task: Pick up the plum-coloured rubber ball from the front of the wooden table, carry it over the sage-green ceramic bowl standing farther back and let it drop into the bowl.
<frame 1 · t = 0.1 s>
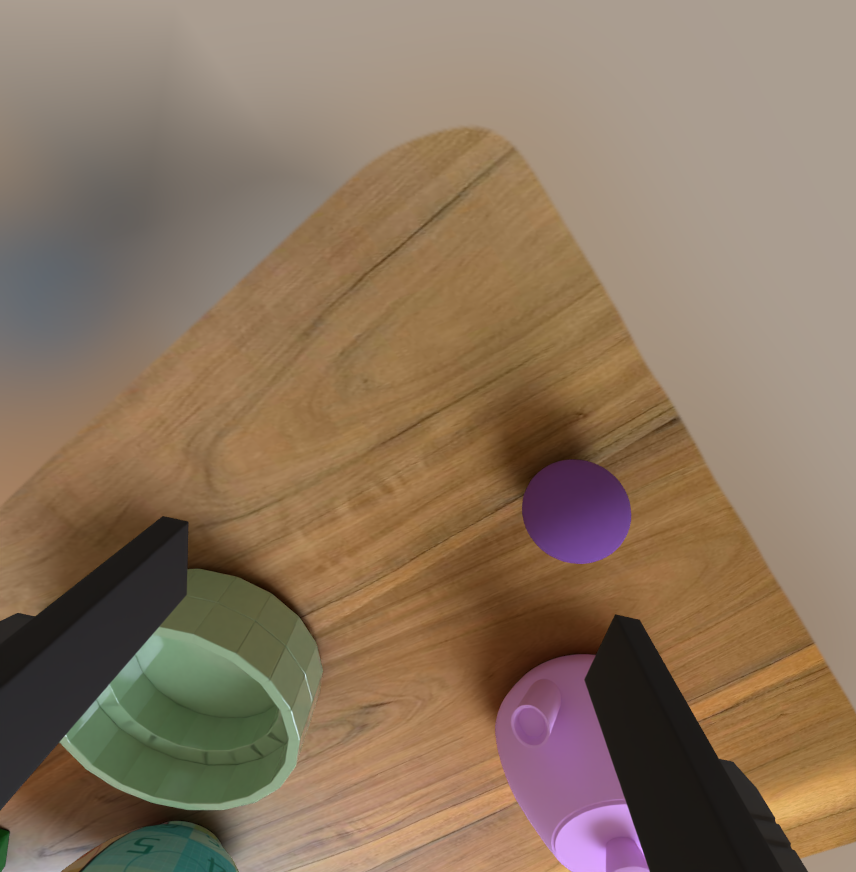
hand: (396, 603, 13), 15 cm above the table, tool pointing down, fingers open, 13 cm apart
ball: (561, 487, 27), on the table
teapot: (572, 698, 34), on the table
bowl: (188, 840, 43), on the table
green bowl: (217, 654, 34), on the table
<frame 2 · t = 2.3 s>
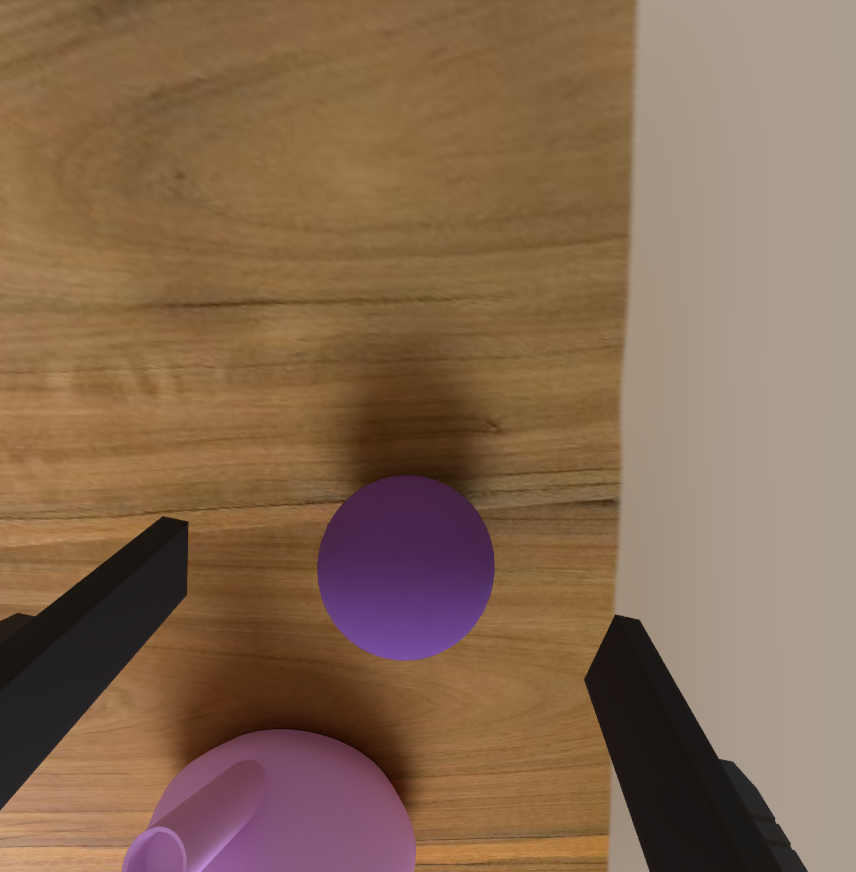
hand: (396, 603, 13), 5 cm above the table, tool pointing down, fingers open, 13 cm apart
ball: (414, 516, 17), on the table
teapot: (298, 783, 24), on the table
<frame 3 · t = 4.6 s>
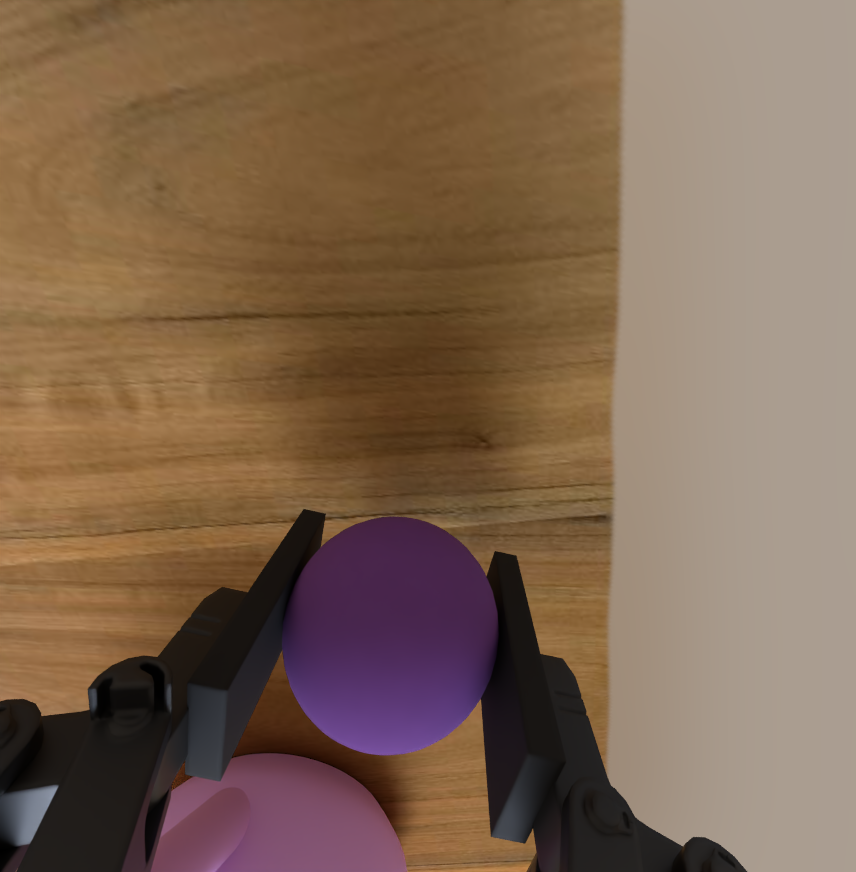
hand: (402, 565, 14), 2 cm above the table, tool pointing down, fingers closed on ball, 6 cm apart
ball: (403, 558, 15), point 2 cm above the table, touching gripper
teapot: (285, 809, 23), on the table
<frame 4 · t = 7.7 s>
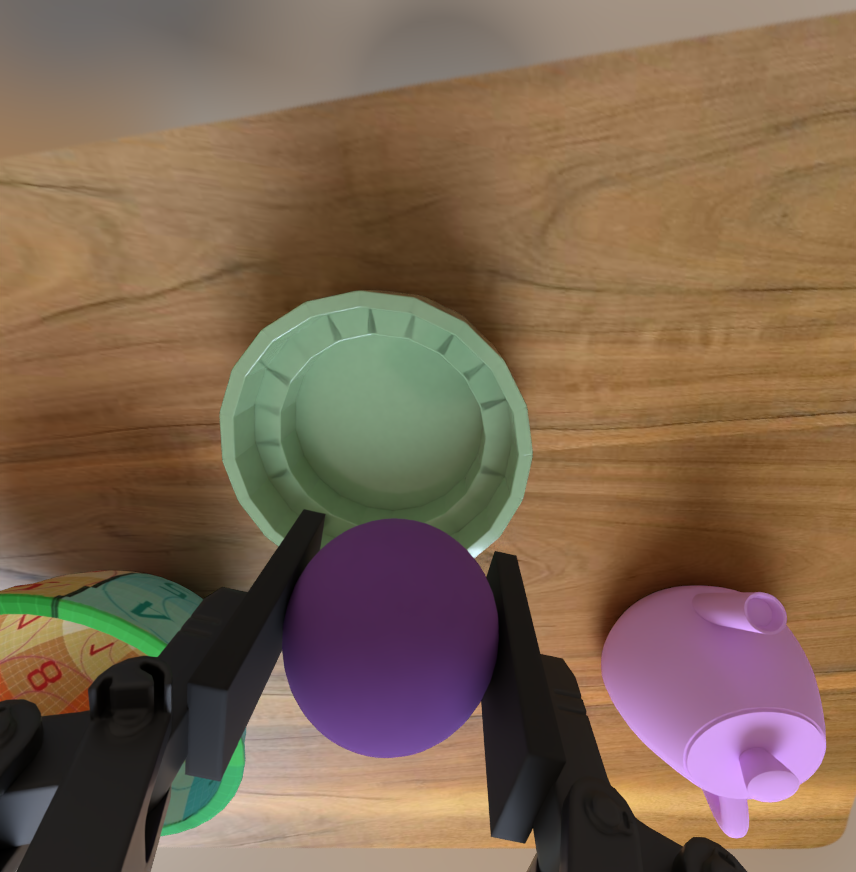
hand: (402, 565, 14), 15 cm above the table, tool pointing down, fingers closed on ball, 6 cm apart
ball: (403, 560, 15), point 15 cm above the table, touching gripper
teapot: (679, 631, 34), on the table
bowl: (173, 618, 36), on the table
green bowl: (389, 424, 29), on the table
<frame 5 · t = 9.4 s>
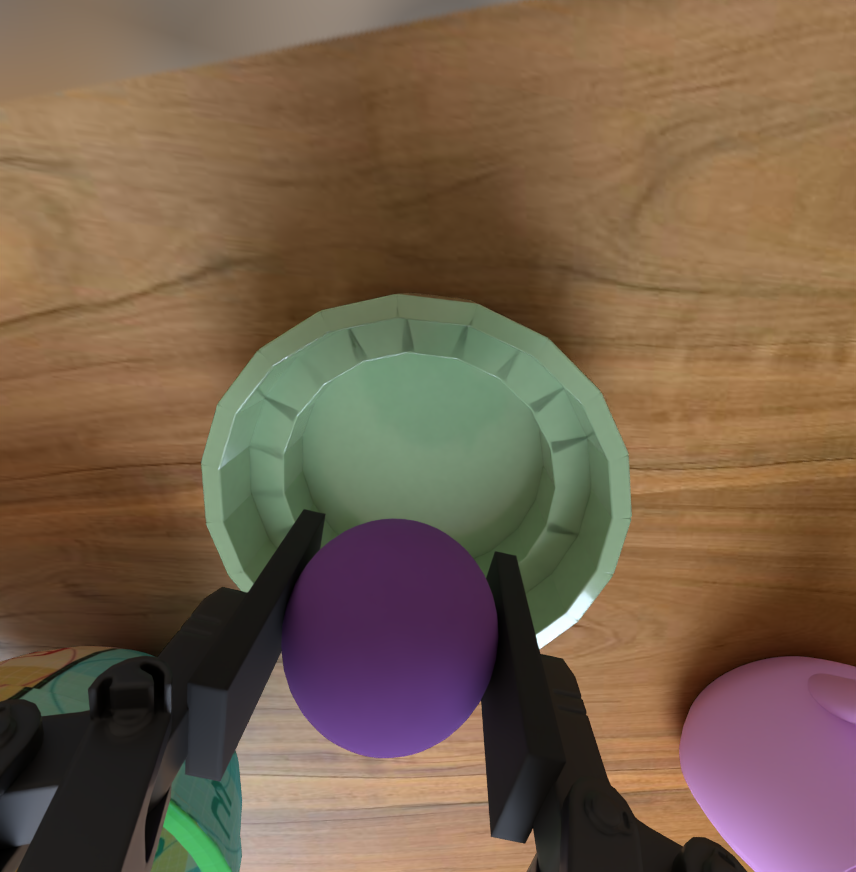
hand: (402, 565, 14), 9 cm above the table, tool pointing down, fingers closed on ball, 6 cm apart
ball: (403, 560, 15), point 9 cm above the table, touching gripper
teapot: (773, 708, 28), on the table
bowl: (154, 690, 30), on the table
green bowl: (421, 463, 23), on the table
when the fingers open (6 cm above the table, at t = 10.6 s): ball drops 5 cm, resting on green bowl.
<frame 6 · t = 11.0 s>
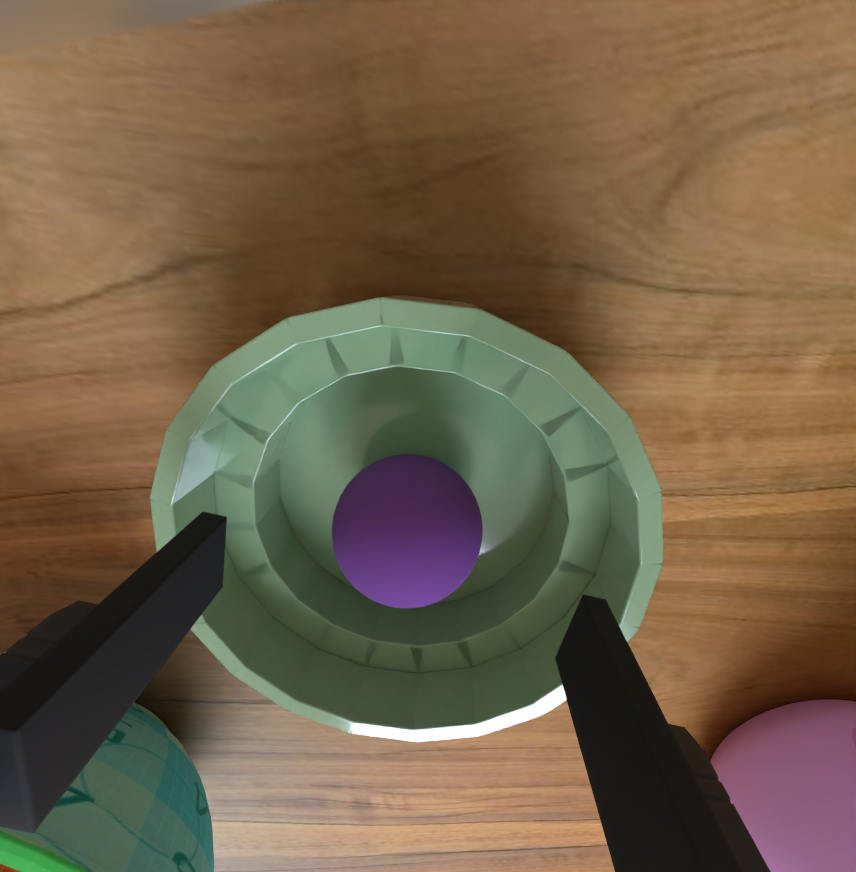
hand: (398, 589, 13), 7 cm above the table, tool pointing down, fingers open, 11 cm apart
ball: (413, 493, 19), point 1 cm above the table, touching green bowl
teapot: (805, 754, 25), on the table
bowl: (122, 732, 27), on the table
green bowl: (414, 488, 20), on the table
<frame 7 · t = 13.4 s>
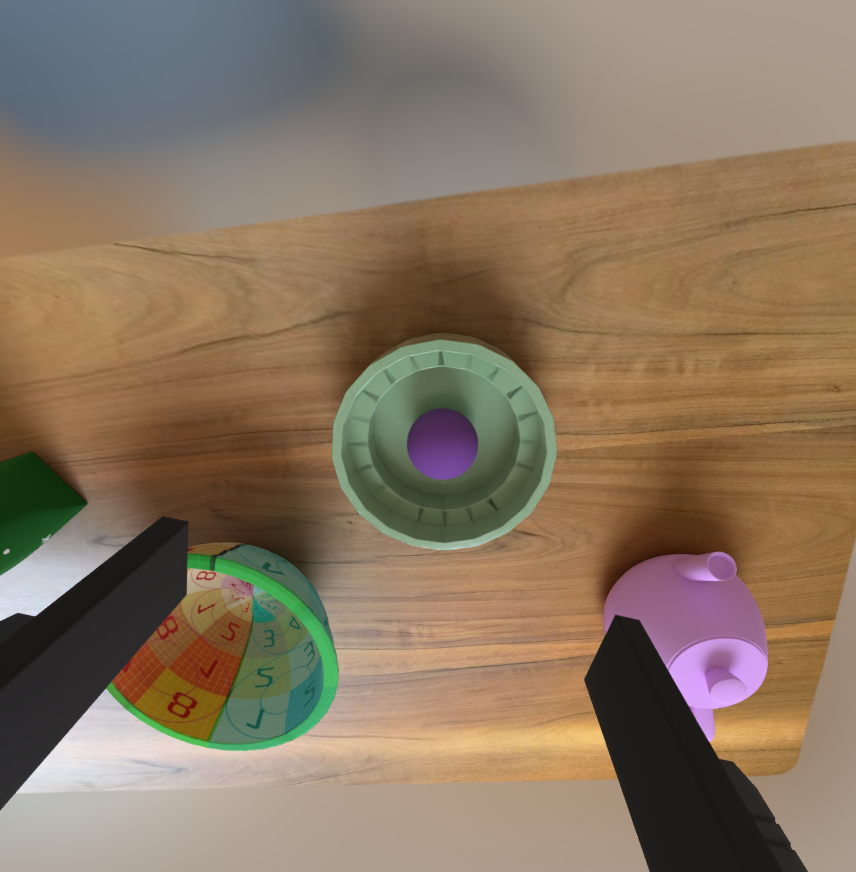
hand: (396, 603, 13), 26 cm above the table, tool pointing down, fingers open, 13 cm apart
milk carton: (43, 494, 43), on the table
ball: (443, 432, 38), point 1 cm above the table, touching green bowl
teapot: (664, 592, 43), on the table
bowl: (260, 585, 45), on the table
green bowl: (443, 430, 38), on the table
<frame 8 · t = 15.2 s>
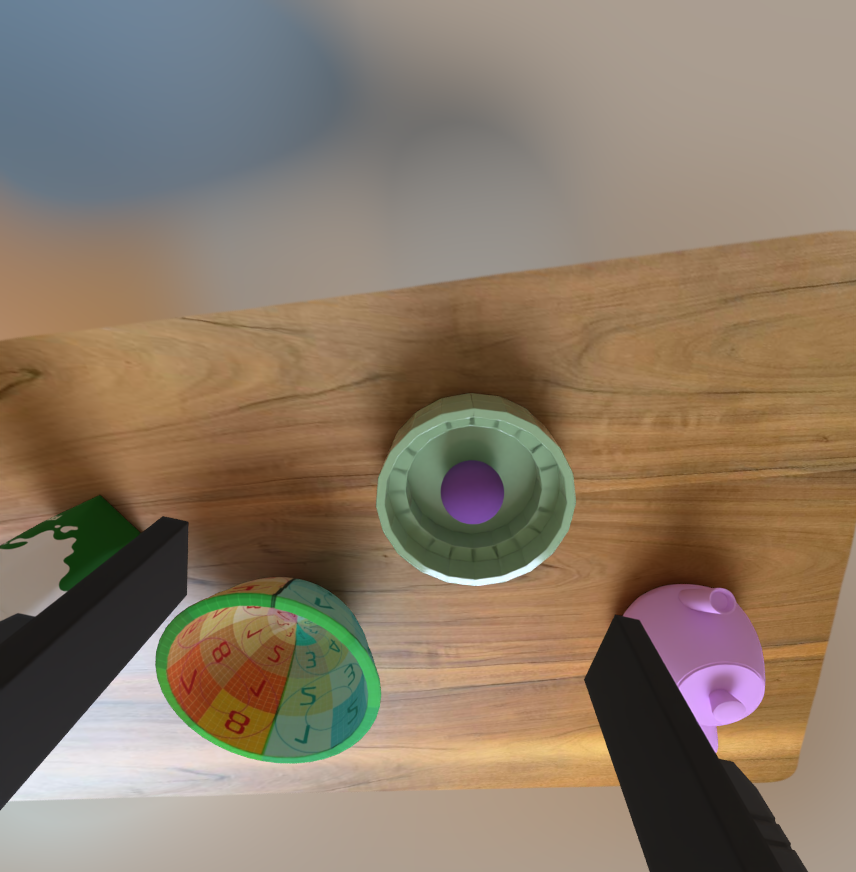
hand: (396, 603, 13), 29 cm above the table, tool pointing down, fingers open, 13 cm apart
milk carton: (107, 532, 47), on the table
ball: (471, 478, 42), point 1 cm above the table, touching green bowl
teapot: (671, 617, 47), on the table
bowl: (302, 611, 50), on the table
green bowl: (471, 475, 42), on the table
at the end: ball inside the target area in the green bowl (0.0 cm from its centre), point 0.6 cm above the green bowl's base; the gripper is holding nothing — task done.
